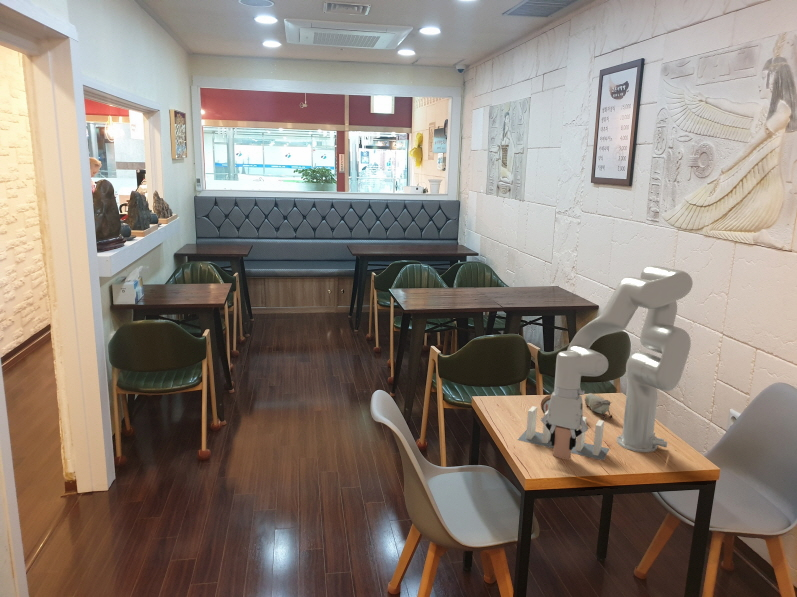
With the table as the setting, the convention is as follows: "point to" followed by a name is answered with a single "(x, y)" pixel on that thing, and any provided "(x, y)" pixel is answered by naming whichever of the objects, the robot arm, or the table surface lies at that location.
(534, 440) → the slate mat
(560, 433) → the tile
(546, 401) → the tin
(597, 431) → the tile
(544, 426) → the tile
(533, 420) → the tile
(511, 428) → the table surface
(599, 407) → the decorative bird
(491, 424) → the table surface
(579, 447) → the tile
